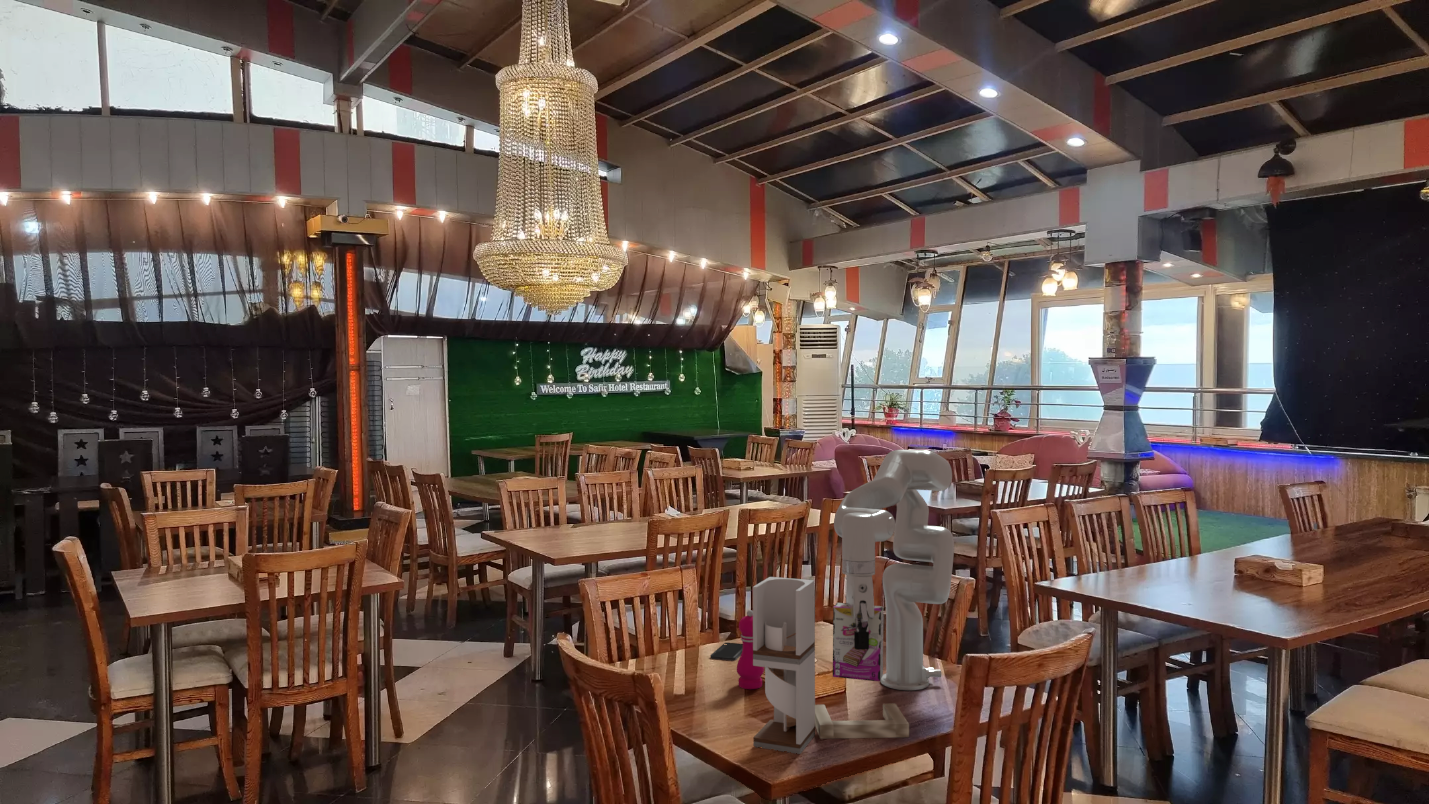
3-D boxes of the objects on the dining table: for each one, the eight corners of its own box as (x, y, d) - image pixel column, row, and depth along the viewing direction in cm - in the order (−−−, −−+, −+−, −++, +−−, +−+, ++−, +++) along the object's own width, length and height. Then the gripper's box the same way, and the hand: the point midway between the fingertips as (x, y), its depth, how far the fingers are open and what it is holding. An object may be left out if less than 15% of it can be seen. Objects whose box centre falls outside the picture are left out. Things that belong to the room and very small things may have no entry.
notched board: (895, 715, 212) (895, 703, 212) (909, 736, 199) (909, 723, 199) (811, 717, 211) (811, 704, 211) (820, 738, 198) (820, 724, 198)
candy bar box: (832, 677, 204) (832, 606, 204) (835, 671, 209) (835, 601, 209) (881, 682, 201) (881, 609, 201) (883, 676, 205) (883, 605, 205)
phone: (749, 644, 270) (734, 658, 256) (749, 648, 270) (734, 662, 256) (724, 642, 272) (709, 655, 258) (725, 645, 272) (709, 659, 258)
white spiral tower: (770, 728, 204) (769, 576, 204) (815, 734, 200) (814, 580, 200) (753, 746, 194) (752, 586, 193) (800, 753, 190) (799, 590, 189)
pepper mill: (764, 681, 237) (764, 606, 237) (763, 690, 230) (763, 613, 230) (737, 680, 238) (737, 606, 238) (735, 689, 231) (735, 612, 231)
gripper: (883, 574, 196) (883, 655, 196) (867, 559, 213) (867, 634, 213) (849, 574, 196) (849, 655, 196) (836, 560, 213) (836, 634, 213)
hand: (858, 643), depth 205 cm, fingers closed on candy bar box, 6 cm apart
